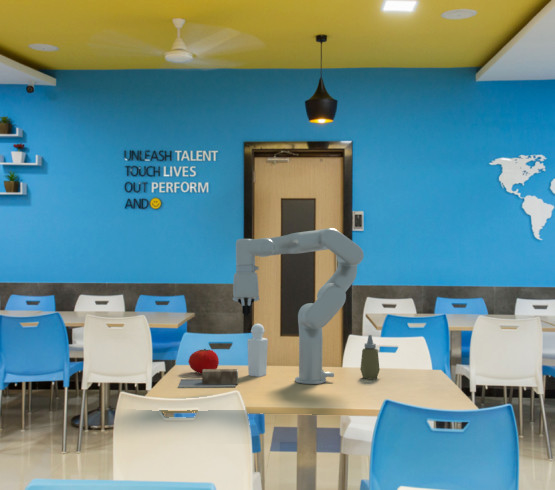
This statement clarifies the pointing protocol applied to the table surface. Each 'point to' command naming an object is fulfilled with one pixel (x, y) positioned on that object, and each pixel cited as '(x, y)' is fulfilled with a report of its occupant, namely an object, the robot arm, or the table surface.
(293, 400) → the table surface
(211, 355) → the tomato
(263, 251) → the robot arm
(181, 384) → the grey rubber mat
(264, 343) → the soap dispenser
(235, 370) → the walnut block
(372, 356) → the squeeze bottle
